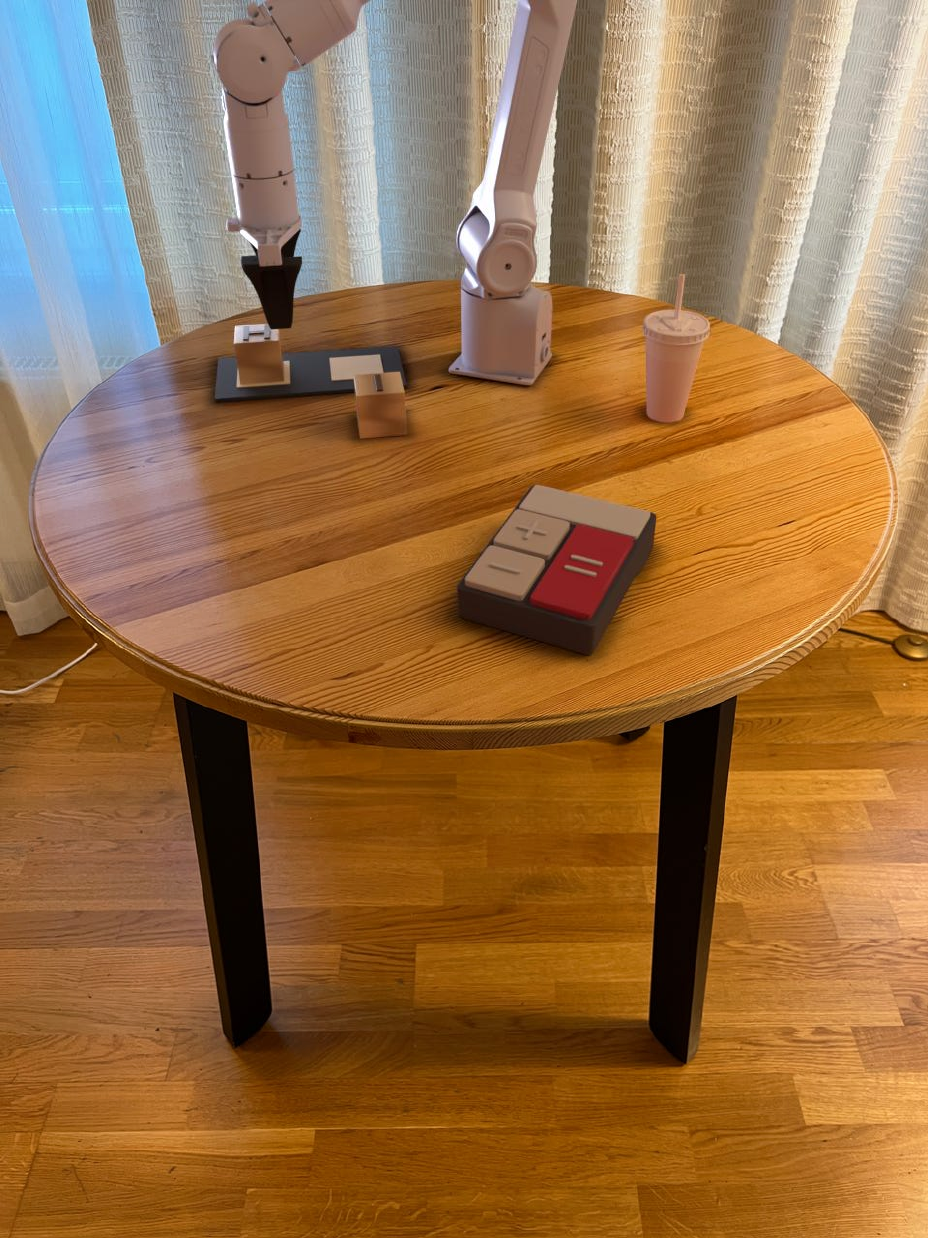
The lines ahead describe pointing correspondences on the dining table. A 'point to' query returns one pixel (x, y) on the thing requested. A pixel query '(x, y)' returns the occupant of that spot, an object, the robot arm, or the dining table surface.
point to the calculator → (558, 568)
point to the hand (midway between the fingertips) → (280, 312)
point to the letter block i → (380, 405)
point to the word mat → (310, 373)
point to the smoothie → (672, 358)
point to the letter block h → (258, 354)
